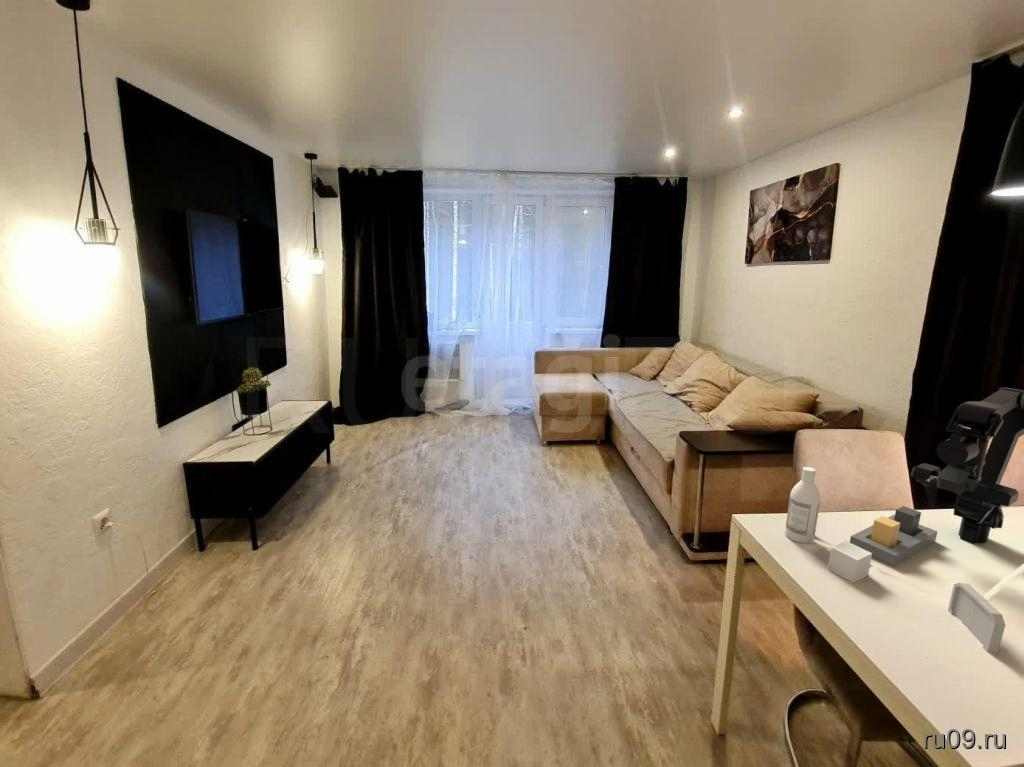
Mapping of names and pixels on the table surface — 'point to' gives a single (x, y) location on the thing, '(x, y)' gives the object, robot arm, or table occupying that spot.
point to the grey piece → (903, 547)
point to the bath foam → (803, 508)
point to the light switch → (977, 616)
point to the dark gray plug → (907, 520)
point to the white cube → (849, 561)
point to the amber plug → (885, 531)
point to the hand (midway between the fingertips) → (954, 515)
